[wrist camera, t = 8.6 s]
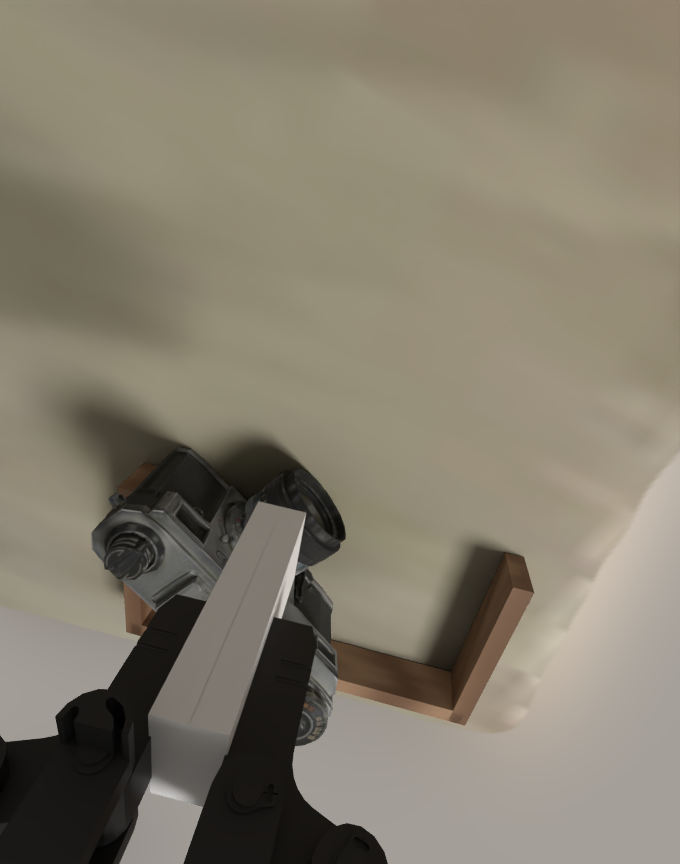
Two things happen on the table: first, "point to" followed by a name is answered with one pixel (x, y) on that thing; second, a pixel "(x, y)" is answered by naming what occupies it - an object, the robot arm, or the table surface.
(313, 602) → the camera
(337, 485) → the table surface
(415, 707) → the dock
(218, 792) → the robot arm
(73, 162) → the table surface
